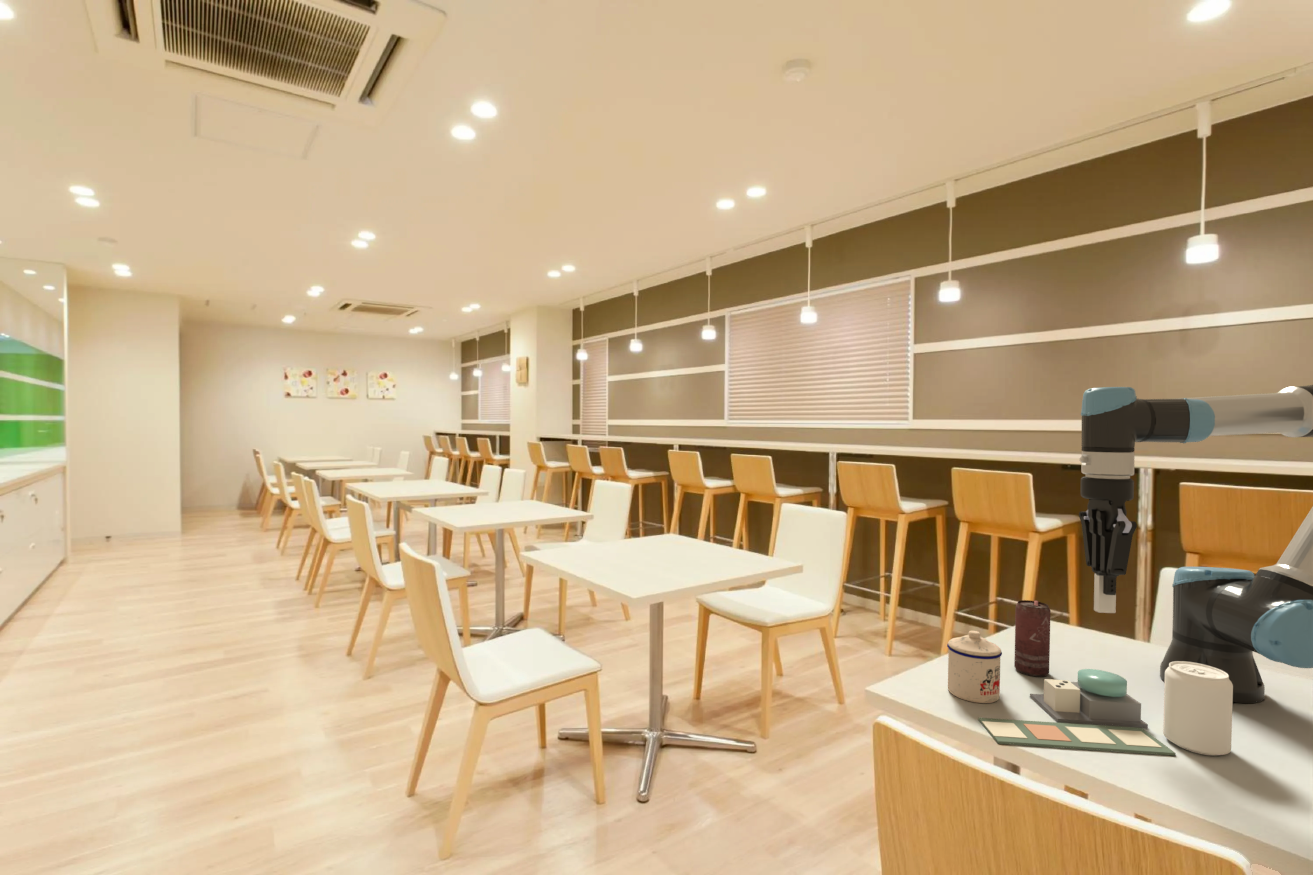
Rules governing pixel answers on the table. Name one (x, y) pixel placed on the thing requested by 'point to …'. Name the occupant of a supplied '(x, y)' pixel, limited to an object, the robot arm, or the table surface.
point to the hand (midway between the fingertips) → (1104, 611)
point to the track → (1074, 736)
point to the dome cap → (1102, 683)
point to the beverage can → (1198, 708)
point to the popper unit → (1087, 706)
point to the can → (1032, 638)
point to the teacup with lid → (974, 668)
